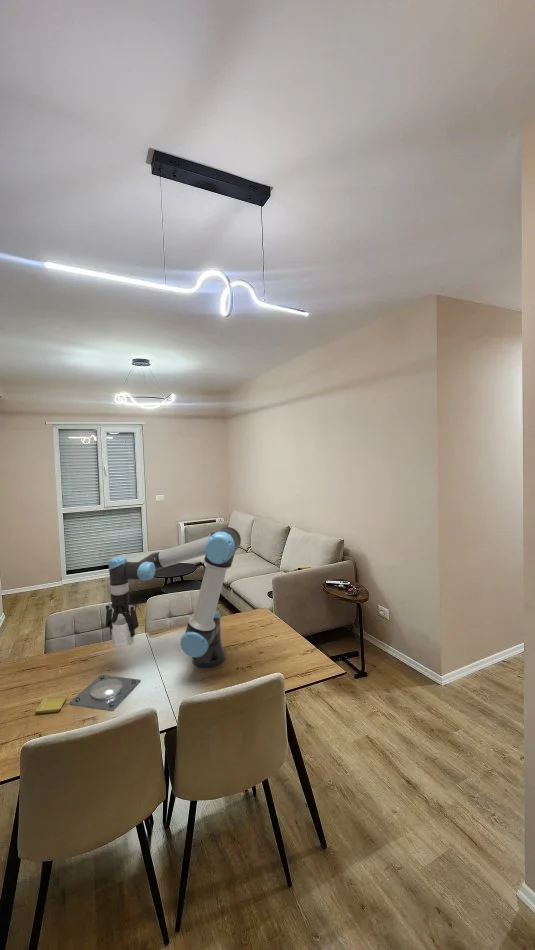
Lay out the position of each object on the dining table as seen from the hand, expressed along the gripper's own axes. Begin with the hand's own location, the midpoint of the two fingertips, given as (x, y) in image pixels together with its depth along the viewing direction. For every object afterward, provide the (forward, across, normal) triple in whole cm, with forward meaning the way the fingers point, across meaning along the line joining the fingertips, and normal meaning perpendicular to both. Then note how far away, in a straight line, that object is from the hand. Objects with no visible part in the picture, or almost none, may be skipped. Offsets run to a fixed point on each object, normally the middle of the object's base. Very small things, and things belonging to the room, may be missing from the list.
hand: (123, 642), depth 173 cm
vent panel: (+12, -2, +16) cm, 20 cm away
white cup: (+1, 0, 0) cm, 1 cm away
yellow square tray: (+13, +13, +28) cm, 33 cm away
